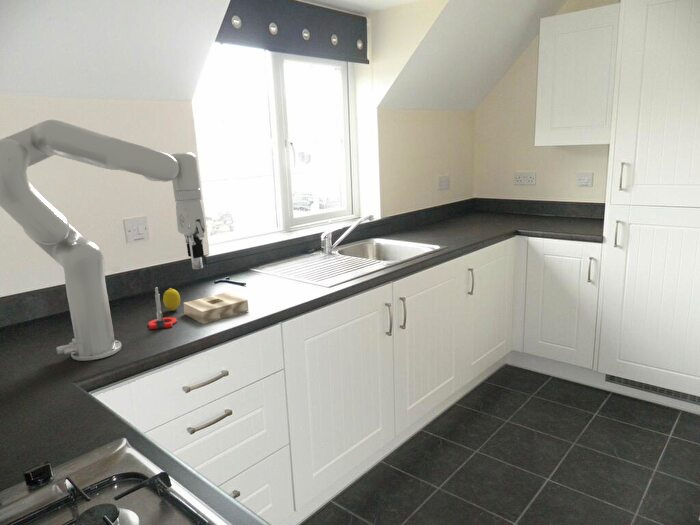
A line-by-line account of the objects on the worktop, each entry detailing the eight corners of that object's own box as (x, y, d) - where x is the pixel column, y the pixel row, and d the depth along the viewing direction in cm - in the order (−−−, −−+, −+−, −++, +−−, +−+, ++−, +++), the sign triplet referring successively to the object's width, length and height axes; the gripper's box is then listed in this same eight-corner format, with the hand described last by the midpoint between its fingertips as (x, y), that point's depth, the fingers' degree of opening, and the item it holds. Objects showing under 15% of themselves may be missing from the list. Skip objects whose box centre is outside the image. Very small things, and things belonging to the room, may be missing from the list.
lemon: (175, 307, 181) (173, 285, 179) (185, 309, 177) (182, 287, 175) (161, 311, 177) (158, 289, 175) (170, 314, 173) (167, 291, 171)
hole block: (203, 323, 162) (202, 311, 161) (184, 314, 172) (183, 302, 171) (248, 311, 172) (247, 299, 171) (228, 303, 182) (227, 292, 182)
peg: (195, 269, 156) (190, 233, 153) (191, 268, 158) (186, 232, 156) (204, 267, 158) (199, 232, 155) (200, 266, 160) (195, 231, 157)
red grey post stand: (151, 322, 167) (146, 330, 158) (146, 283, 165) (141, 289, 156) (178, 319, 169) (175, 327, 160) (174, 280, 167) (170, 286, 158)
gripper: (165, 196, 157) (173, 255, 161) (186, 198, 144) (195, 263, 149) (188, 193, 161) (196, 250, 166) (211, 195, 149) (219, 257, 153)
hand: (196, 256), depth 157 cm, fingers closed on peg, 3 cm apart
